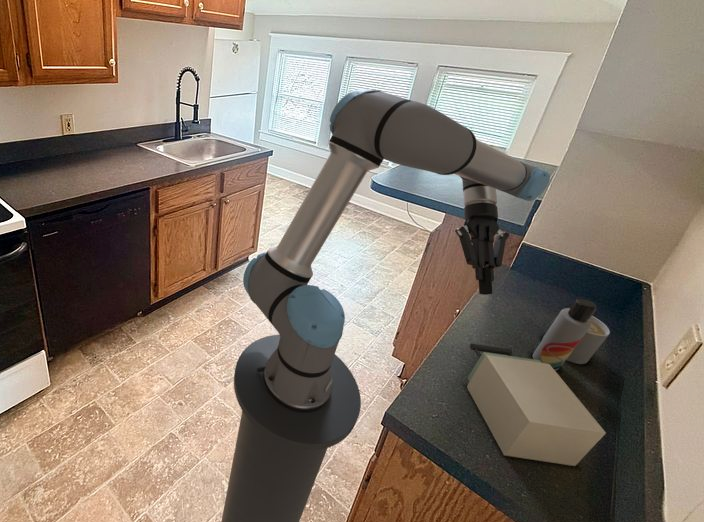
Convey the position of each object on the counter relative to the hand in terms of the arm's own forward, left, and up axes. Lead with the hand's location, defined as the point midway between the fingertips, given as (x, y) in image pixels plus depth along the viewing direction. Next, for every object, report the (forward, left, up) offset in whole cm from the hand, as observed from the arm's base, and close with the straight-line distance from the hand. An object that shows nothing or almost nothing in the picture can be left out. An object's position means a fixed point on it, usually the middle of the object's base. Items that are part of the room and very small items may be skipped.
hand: (485, 293), depth 96 cm
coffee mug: (+25, +14, -15) cm, 32 cm away
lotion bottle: (+19, +3, -15) cm, 24 cm away
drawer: (+8, -18, -14) cm, 24 cm away
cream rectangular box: (+10, -22, -15) cm, 29 cm away
